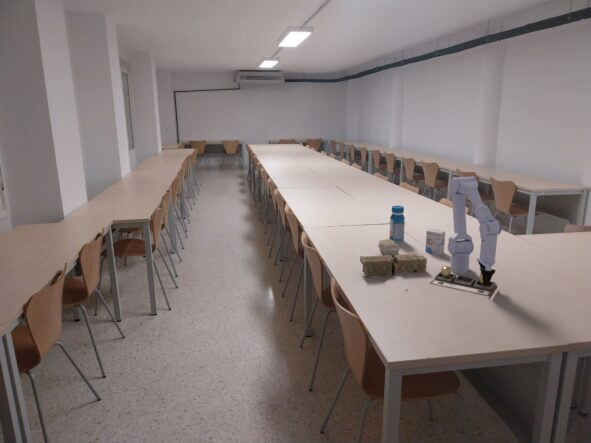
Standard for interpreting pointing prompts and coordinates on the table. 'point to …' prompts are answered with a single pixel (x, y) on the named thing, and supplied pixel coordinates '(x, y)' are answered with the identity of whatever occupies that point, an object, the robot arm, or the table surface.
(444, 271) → the placed peg
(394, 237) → the beverage bottle
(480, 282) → the brass peg
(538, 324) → the table surface
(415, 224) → the table surface
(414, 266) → the block tower
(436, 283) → the board
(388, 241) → the fossil replica
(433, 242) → the ink box
